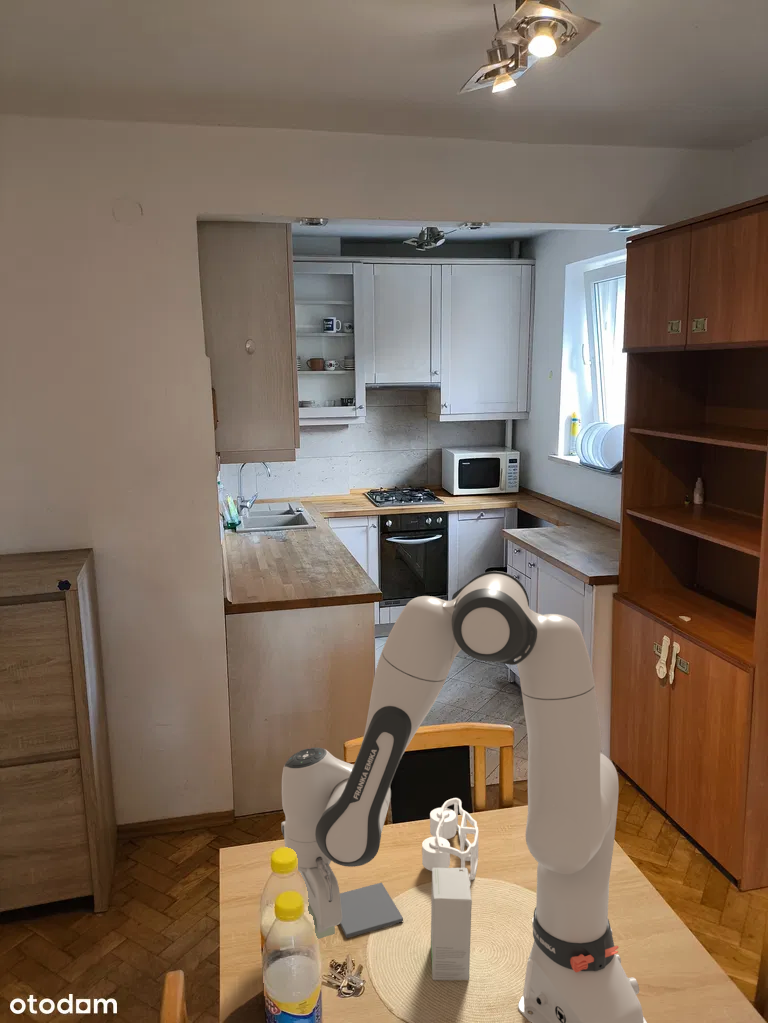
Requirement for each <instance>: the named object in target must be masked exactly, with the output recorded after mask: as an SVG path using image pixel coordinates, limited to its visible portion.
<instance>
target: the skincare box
mask: <svg viewBox="0 0 768 1023" xmlns="http://www.w3.org/2000/svg"><path fill="white" fill-rule="evenodd" d="M471 885H472V884H471V881H469V869H468V868H467V867H465V868H461V867H448V868H432V871H431V907H430V908H431V910H430V912H431V914H430V915H431V918H430V919H431V920H430V957H431V973H432V974H431V978H432V981H454V980H469V981H470V965H471V963H470V962H471V959H470V958H471V956H470V955H471V932H472V931H471V930H472V904H473V901H472V891H471Z"/></svg>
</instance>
